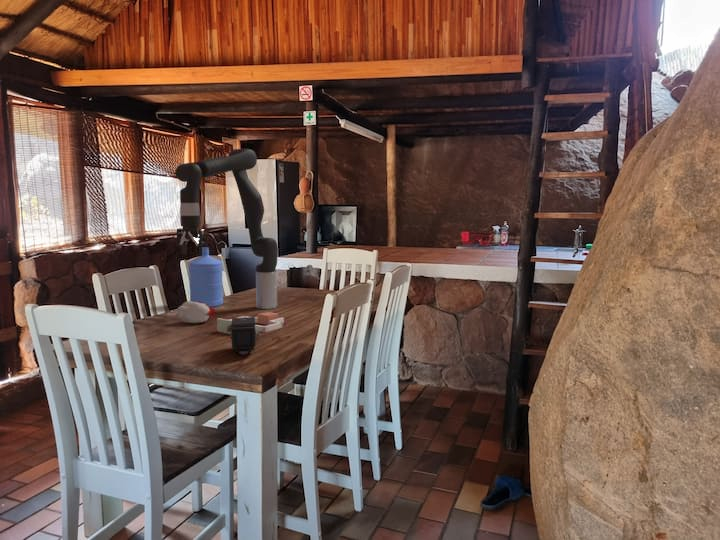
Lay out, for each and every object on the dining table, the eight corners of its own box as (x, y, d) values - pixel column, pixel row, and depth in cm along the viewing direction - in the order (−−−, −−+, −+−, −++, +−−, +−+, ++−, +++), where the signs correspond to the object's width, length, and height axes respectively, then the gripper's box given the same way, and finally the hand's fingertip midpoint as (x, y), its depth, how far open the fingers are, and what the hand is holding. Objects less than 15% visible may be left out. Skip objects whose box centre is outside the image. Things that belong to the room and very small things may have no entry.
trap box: (256, 317, 235) (256, 306, 235) (294, 324, 223) (294, 312, 223) (207, 329, 213) (207, 316, 213) (246, 337, 201) (246, 324, 201)
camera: (227, 350, 188) (227, 357, 173) (226, 317, 187) (226, 322, 173) (258, 348, 190) (261, 355, 175) (258, 315, 190) (260, 320, 175)
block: (267, 321, 230) (267, 311, 230) (278, 322, 227) (278, 313, 226) (257, 323, 225) (257, 314, 225) (268, 325, 222) (268, 315, 221)
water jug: (214, 308, 255) (212, 249, 252) (183, 306, 259) (182, 248, 255) (228, 302, 271) (227, 246, 267) (199, 301, 274) (198, 245, 270)
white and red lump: (174, 322, 222) (202, 320, 235) (193, 325, 216) (221, 323, 229) (175, 300, 222) (203, 299, 235) (195, 303, 216) (222, 302, 229)
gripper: (209, 214, 216) (211, 255, 219) (185, 213, 224) (186, 253, 226) (195, 215, 210) (196, 256, 212) (170, 214, 217) (172, 254, 220)
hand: (191, 254), depth 219 cm, fingers open, 8 cm apart
